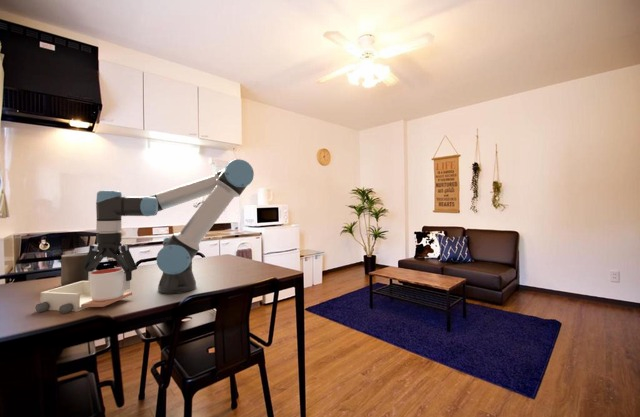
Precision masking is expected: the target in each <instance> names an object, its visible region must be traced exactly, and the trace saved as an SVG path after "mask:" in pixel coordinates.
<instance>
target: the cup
mask: <svg viewBox="0 0 640 417" xmlns="http://www.w3.org/2000/svg"><path fill="white" fill-rule="evenodd" d="M123 272H125V271H124V270H123V269H122V267H120V268H119V267H118V268H117V267H115V268H107V269H100V270H97V271H95V272H92V273H90V285H91V298H92V300H94V301H106V300H111V299H115V298H118V297H120V296H122V295H123V294H124V292H125V291H123Z"/></svg>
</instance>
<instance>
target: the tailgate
mask: <svg viewBox="0 0 640 417" xmlns="http://www.w3.org/2000/svg"><path fill="white" fill-rule="evenodd" d="M130 296H133V292H131V291H129V292H125V291H124V294H123V295H122V296H120V297H118V298H115V299H111V300H106V301H94V300H92V301H89V302H86V303H84V304H82V305H81V306H82V307H88V308H98V307H99V308H100V307H101V308H102V307H106V306H108V305H111V304H114V303H115V302H117V301H120V300H124V299H125V298H128V297H130Z"/></svg>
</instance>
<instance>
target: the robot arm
mask: <svg viewBox="0 0 640 417" xmlns="http://www.w3.org/2000/svg"><path fill="white" fill-rule="evenodd" d="M254 176H255V174H254V168H253V167H252V165H251V164H250V163H249V162H248V161H247V160H245V159H241V158H239V159H238V158H237V159H232V160H231V161H229V162H227V164H226V165H225V168H222V169H221V170H218V171H215V173H214V174H213V175H210V176H207V177H204V178H201V179H198V180H195V181H192V182H191V181H190V182H188V183H185V184H182V185H179V186H176V187H173V188H170V189H167V190H164V191H160V192H157V193H155V194H151V195H146V196H125V195H122V192H121V190H99V191H97V193H96V201H95V204H96V205H95V207H96V208H95V211H96V213H95V214H96V224H95V225H96V229H95V230H96V232H97V234H95V235H96V244H90V245H89V247H88V252H87V253H88V254H87V257H86V259H85V261H84V263H83V265H82V269H83V270H86V271H87V279H88V284H89V289H91V285H90V273H92V272H95V271H98V269H97V270H96V268H97V267H98V265H99V264H100V263H101V261H103V259H104V258H112V259H114V260H115V262H117V264H118V265H119V266H120V268H122V269H123V270H124V272H123V291H124V292H125V291H127V290H130V289H131V281H132V280H133V278H132V276H133V274H132V273H133V271H136V270H137V269H138V266H137V264H136V261H135V260H134V258H133V256H132V255H133V254H132V253H131V251H130V246H129V244H124V245H121V243H122V239H123V238H122V232H121V231H122V217H151V216H152V217H153V216H157V215H158V212H161V211H164V210H166V209H170V208H173V207H176V206H178V205H182V204H184V203H189V202H190V201H193V200H196V199H198V198H199V199H200V198H202V197H206V196H207V197H206V199H205V200H204V201H203V202H202V204H201V205H200V206H199V207H198V209H197V210H196V211H195V213H194V214H193V215H192V217H191V218H190V219H189V220H188V222H187V223H186V224H185V226H184V227H183V228H182V229H181V231H180V232H175V233H173V234H172V235H171V237H165V238H163V242H162V246H163V247H162V248H161V249H160V250H159V251H158V253H157V255H156V265H157V267H158V268H159V270H161V272H162V275H161V278H160V280H159V283H158V286H157V292H158V293H160V294H165V295H166V294H169V295H173V294H175V295H176V294H182V293H183V294H184V293H187V291H188V292H190V290H191V291H193V290H196V288H197V282H196V281H197V280H196V279H195V275H194V272H193V259H194V258H195V256H197V253H199V251H200V243H201V242H202V241H203V239H204V238H205V237H206V235H207V234H208V232H209V231H210V230H211V228H212V227H213V226H214V225H215V224H216V222H217V220H218V219H219V218H220V217H221V215H222V214H223V212H224V211H225V210H227V207H228V206H229V204H230V203H231V202H232V201H233V200H234V198H237V197H240V196H241V195H242V193H243V192H244V191H245V189H246V188H247V187H248V186H249V185H250V184H251V183H252V182H253V180H254Z"/></svg>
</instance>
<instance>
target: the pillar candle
mask: <svg viewBox="0 0 640 417" xmlns="http://www.w3.org/2000/svg"><path fill="white" fill-rule="evenodd" d="M87 254H88V252H87V253H85V252H76V251H75V252H74V253H69V254H63V255H61V263H60V264H61V270H60V287H62V286H66V285H69V284H73V283H76V282H80V281H88V279H87V271H86V270H83V269H82V265H83V263H84V261H85V259H86V257H87Z"/></svg>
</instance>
